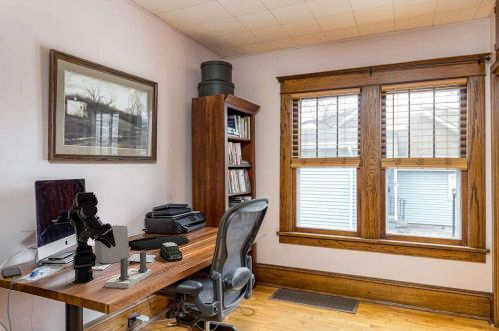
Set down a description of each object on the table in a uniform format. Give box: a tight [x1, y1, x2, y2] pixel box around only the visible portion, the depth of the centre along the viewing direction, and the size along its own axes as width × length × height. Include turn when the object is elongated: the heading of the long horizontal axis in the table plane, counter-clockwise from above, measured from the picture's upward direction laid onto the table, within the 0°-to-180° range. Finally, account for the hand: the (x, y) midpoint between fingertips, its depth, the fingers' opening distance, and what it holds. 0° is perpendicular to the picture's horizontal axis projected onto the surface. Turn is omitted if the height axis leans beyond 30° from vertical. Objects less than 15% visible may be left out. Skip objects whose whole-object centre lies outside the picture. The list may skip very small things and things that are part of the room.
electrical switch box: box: [93, 224, 130, 264], centre depth 184 cm, size 15×15×20 cm
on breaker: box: [138, 250, 149, 272], centre depth 155 cm, size 3×4×9 cm
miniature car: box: [158, 242, 184, 262], centre depth 187 cm, size 9×18×8 cm, turn 31°
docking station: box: [128, 234, 190, 252], centre depth 222 cm, size 25×40×5 cm, turn 124°
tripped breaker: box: [119, 257, 129, 280], centre depth 143 cm, size 3×4×9 cm
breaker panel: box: [104, 268, 152, 289], centre depth 149 cm, size 11×20×2 cm, turn 170°
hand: (112, 247), depth 146 cm, fingers open, 9 cm apart
